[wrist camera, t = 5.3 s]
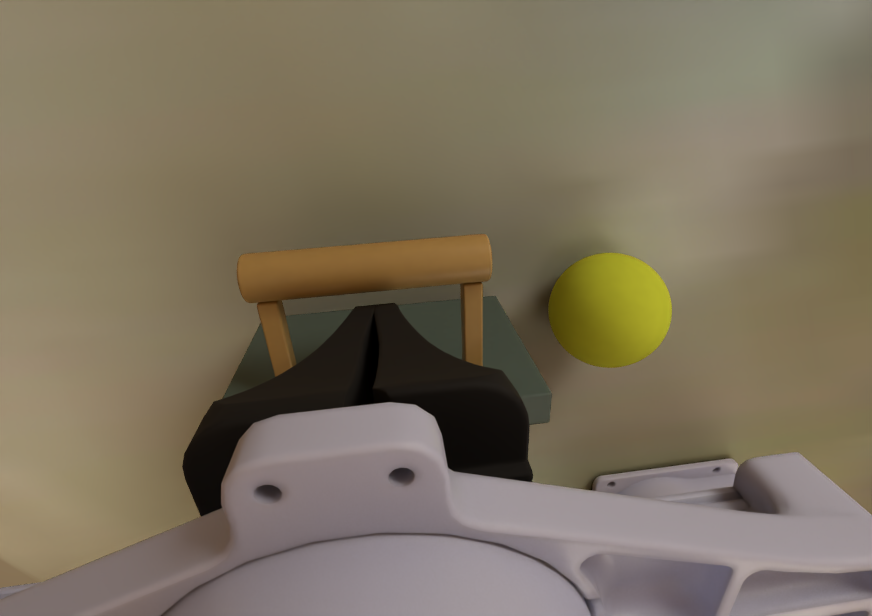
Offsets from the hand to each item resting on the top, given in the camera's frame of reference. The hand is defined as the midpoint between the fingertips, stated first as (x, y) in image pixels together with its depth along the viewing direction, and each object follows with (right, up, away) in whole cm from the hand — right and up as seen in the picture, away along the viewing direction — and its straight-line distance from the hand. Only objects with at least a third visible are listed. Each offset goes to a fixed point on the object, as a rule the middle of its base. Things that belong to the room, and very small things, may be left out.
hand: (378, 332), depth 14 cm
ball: (+9, +2, +8) cm, 12 cm away
